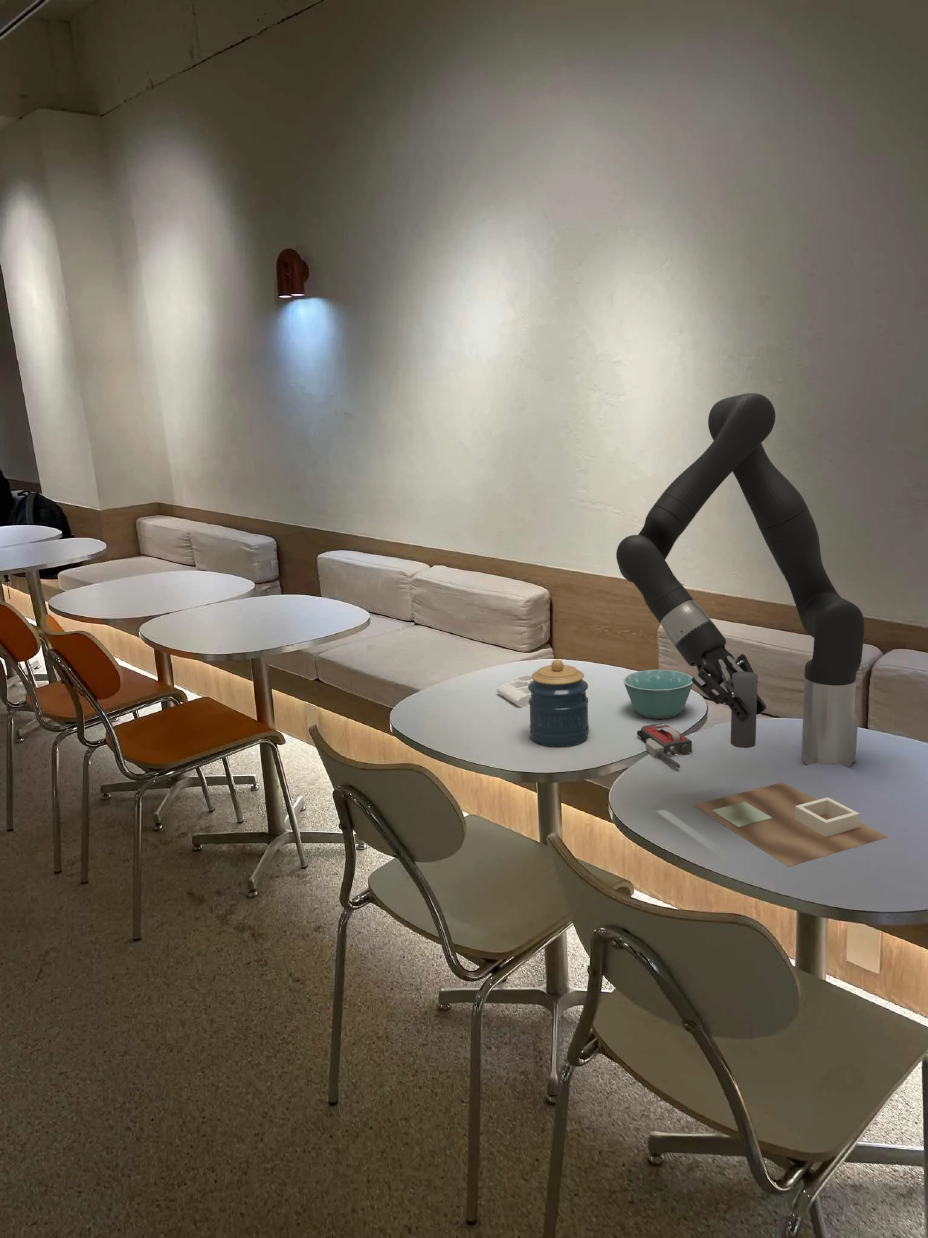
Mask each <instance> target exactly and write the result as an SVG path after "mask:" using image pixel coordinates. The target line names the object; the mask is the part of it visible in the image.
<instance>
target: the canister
mask: <svg viewBox="0 0 928 1238" xmlns="http://www.w3.org/2000/svg"><path fill="white" fill-rule="evenodd" d="M531 675H532V679H533V681H532V682H531V683H530V684H529V685H528V689H529V690H530V691H531V697H530V699H529V704H530V706H529V723H530V724H529V734H530V738H531V740H533V741H534V742H535V743H537V744H539V745H542V746H547V747H554V748H555V747H558V748H560V747H570V746H575V745H578V744H581V743H583V742H585V741H586V740H587V739H588V737H589V732H590V725H589V711H588V710H589V705H588V703H589V697H587V690H588V688H589V684H588V683H587V681H586V680H585V679H584V678H585V673H584V672H583V671H581V670H579V669H577V667H575V666H572V665H570V664H569V665H568V664H564V662H563V661H562V660H560V659H554V660H552V662H551V664H550V665H545V666H541V667H540V668H539V669H537V670H536V671H534V672H533V673H531Z"/></svg>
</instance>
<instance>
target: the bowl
mask: <svg viewBox="0 0 928 1238" xmlns="http://www.w3.org/2000/svg"><path fill="white" fill-rule="evenodd" d="M692 678H693V677H692V676H691V675H689V674H687V673H685V672H682V671H676V670H670V669H648V670H640V671H636V672H633V673H629V674H627V675H626V676H625V677H624V678H623V684H624V687H625V690H626V693H627V695H628V697H629V700H630V702H631V704H632V707H633V708H634V711H636V712H637V713H638V714H640V715H641V716H642V717H644V718H647V719H655V720H664V719H665V720H666V719H670V718H673V717H676V716H677V715H678V714H680V713H681V712H682V711H683V710H684V709H685V706H686V704H687V700H688V698H689V695H690V693H691V690H692V687H693V684H694V683H693V682H692Z"/></svg>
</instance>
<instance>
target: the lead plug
mask: <svg viewBox="0 0 928 1238" xmlns="http://www.w3.org/2000/svg"><path fill="white" fill-rule="evenodd" d="M758 679H759V678H758V674H757V673H755V672H754V673H752V672H736V673H733V674H732V681H733V684H732V686H733V688H734V690H735V692H736V694H737V697H739V698H740V699H741V700H742V701H743V703H744V704H745V705H746V707H747V708H748V709H749V711H750V712H751V714H752V716H751V717H750V718H748V719H747V720H746V721H744V722H741V721H740V720H739V719H738V718H737V717H736V716H735V714H734V713H733V712H732V710H731V709H730V710H731V711H730V712H731V714H730V715H731V716H730V744H731V746H733V747H735V748H739V749H740V748H741V749H750V748H751V749H752V748H754V747H755V746H756V741H757V715H756V714H757V694H758V683H759V680H758ZM757 682H758V683H757ZM737 697H736V698H737Z"/></svg>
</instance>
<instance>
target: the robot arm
mask: <svg viewBox="0 0 928 1238" xmlns="http://www.w3.org/2000/svg"><path fill="white" fill-rule="evenodd" d="M707 422H708V423H707V426H708V430H709V434H710V436H711V438H712V440H713V441H712V443H711V444H710V445H709V446H708V447H707V449H706V450H705V451H704V452H703V453H702V454H701V455H700V456H699V457H698V458H697V459H696V460H695V461H694V462H693V463H692V464H690V465H689V466H688V467H687V468H685V469H684V471H682V472H681V473H680V474H679V475H678V476H677V477H676V478H675V479H674V480H673V481H672V482H671V483H670V484H669V485H668V486H667V487H666V489H665V490H664V491H663V493H661V495H660V496H659V497H658V499H657V500H656V502H655V503H654V504H653V506H651V508H650V509H649V511H648V513H647V514H646V517H645V519H644V524H643V526H642V528H641V530H640V531H639V533H638V534H631V535H628V536H626V537H624V538H623V539H622V540H621V541H620V542H619V544H618V546H617V549H616V555H615V557H616V562H617V565H618V569H619V572H620V574H621V576H622V577H623V578H624V579H625V580H627V582H630V583H633V585H635V588H637V590H639V592H640V593H641V595H642V597H643V600H644V602H645V604H646V606H647V608H648V609H649V611H650V612H651V613H652V614H653V616H654V617H655V619H656V620H657V621H658V623H659V624H660V625H661V627H662V629H663V631H664V632H665V634H666V636H667V637H668V639H669V640H670V642H671V643H672V645H674V647H675V648H676V650H677V651H678V652H679V654H680V655H681V656H682V658H683V659H684V661H685V662H686V663H687V665H688V666H690V667H696V670H697V672H698V673H696V674H695V675H694V676H693V677H692V682H693V684H694V685H695V686H696V687H697V688H698V689H699V690H700V691H701V692H703V694H705V696H707V697H708V698H709V699H710V700H711V701H712V702H713V703H715V704H716V705H720V703H722V704H723V705H726V706H728V708H729V710H732V712H733V713H734V714H735V716H736V717H737V718H738V719H739V720H740V721H741V722H744V721H746V720H747V719H748V718H750V717H751V716H752V714H751V712H750V711H749V709H748V708H747V707H746V705H745V704H744V703H743V701H742V700H741V699H740V698H739V697H737V694H736V692H735V690H734V688H733V686H732V684H733V681H732V674H733V673H736V672H752V673H755V672H754V670H753V669H752V666H751V664H750V662H749V660H748V657H747V656H746V655H745V654H743V653H741V654H740V655H738V656H733V654H732V653H730V651H728V649H726V644H727V639H726V637H725V636H724V635H723V633H722V632H721V630H719V628H718V627H717V626H716V624H715V623H714V622H713V620H712V619H711V618H710V616H708V614H707V613H706V611H705V610H704V609H703V608H702V606H700V605H699V604H698V603H697V602H696V601H695V599H694V598H693V597H692V595H691V594H690V593H689V592H688V590H687V589H686V588H685V587H684V585H683V584H682V583H681V582H680V581H679V579H677V577H676V576H675V573H673V571H672V569H671V567H670V566H669V564H668V562H667V561H666V560H667V558H668V557H669V554H670V552H671V550H672V549H673V547H674V545H675V543H676V541H677V540H678V539H679V537H680V536H681V535H682V534H683V533H684V531H686V529H687V527H688V526H689V525H690V524H691V522H692V521H693V520H694V518H695V516H697V514H698V513H699V512H700V510H701V509H702V507H704V505H705V504H706V502H708V500H709V499H710V497H711V496H712V494H714V493H715V492H716V490H718V488H719V487H720V486H721V484H722V483H723V482H724V481H725V480H726V479H727V478H728V477H729V475H731V474H732V473H733V475H734V477H735V479H736V481H737V483H738V485H739V488H740V490H741V492H742V494H743V496H744V498H745V501H746V502H747V505H748V507H749V509H750V510H751V512H752V515H753V517H754V519H755V523H756V525H757V527H758V529H759V531H760V533H761V535H762V537H763V540H764V541H765V543H766V545H767V547H768V550H769V551H770V553H771V555H772V557H773V559H774V561H775V563H776V565H777V566H778V568H779V570H780V572H781V573H782V575H783V577H784V579H785V581H786V582H787V584H788V587H789V590H790V593H791V595H792V599H793V601H794V604H795V607H796V610H797V613H798V614H797V615H798V617H799V620H800V622H801V625H802V628H804V630H805V632H806V633H807V634H808V635H809V636H810V637H812V638H813V650H812V659H810V660H808V661H807V662H806V663H805V666H804V682H803V683H804V684H803V706H802V707H803V709H802V710H803V711H802V729H801V730H802V732H801V733H802V734H801V757H800V758H801V762H802V763H803V764H805V765H806V766H809V765H812V764H813V765H814V764H816V763H819V764H824V765H842V766H844V767H846V768H850V767H851V766H852V763H856V759H857V758H856V757H857V742H858V739H857V738H858V723H859V721H858V720H859V717H858V715H856V714H855V705H856V704H855V703H856V685H857V683H856V682H857V673H858V671H859V669H860V667H861V664H862V660H863V658H862V657H863V648H864V639H865V638H864V637H865V619H864V614H863V612H862V611H861V609H860V607H859V606H858V605H856V604H855V603H853V602H851V601H849V600H847V599H846V598H844V597H842V596H841V595H840V594H839V593H838V591H837V589H836V588H835V587H834V585H833V583H832V581H831V579H830V577H829V576H828V574H827V572H826V571H827V570H826V569H825V567H824V565H823V564H824V563H823V560H822V555H821V554H822V553H821V544H820V543H821V542H820V536H819V533H818V528H817V526H816V523H815V521H814V518H813V516H812V514H811V512H810V509H809V507H808V505H807V503H806V501H805V499H804V497H803V496H802V495H801V493H800V492H799V491H798V489H797V488H796V487H795V486H794V485H793V484H792V483H791V481H789V479H788V478H786V476H784V474H783V473H781V471H779V469H778V468H777V467H776V466H775V465H774V463H773V462H772V461H771V459H770V458H769V456H768V455H767V452H766V450H765V448H764V446H763V442H764V441H765V440H766V439H767V438H768V436H770V434H771V432H772V431H773V429H774V426H775V423H776V411H775V407H774V405H773V403H772V402H771V400H770V399H769V398H768V397H766V396H765V395H764V394H760V393H756V392H751V393H748V392H747V393H743V394H742V393H741V394H738V395H733V396H729V397H726V398H722V399H720V400H718V401H717V402H716V403H715V404H714V405H713V406H712V407H711V409H710V411H709V413H708V420H707ZM758 683H759V681H758V682H757V684H758ZM736 697H737V698H736ZM766 709H767V706H766V704H765V702H764V701H763V699H762V698H761V696H760V695H759V694H758V693H757V714H756V716H757V715H759V714H762V713H763V712H764V711H766Z"/></svg>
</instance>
